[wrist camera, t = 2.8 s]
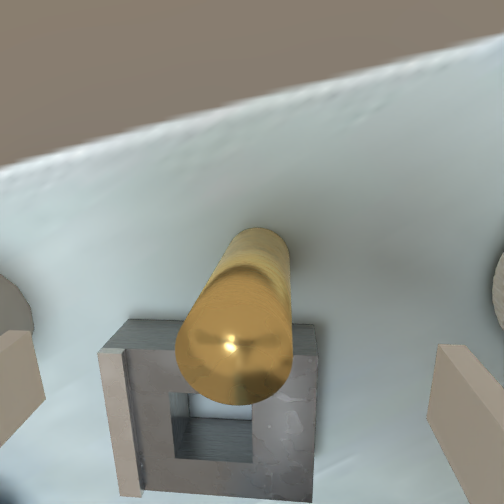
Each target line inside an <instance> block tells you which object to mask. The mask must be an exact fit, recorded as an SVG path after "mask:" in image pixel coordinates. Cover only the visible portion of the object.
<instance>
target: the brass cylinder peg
mask: <svg viewBox="0 0 504 504" xmlns="http://www.w3.org/2000/svg"><path fill="white" fill-rule="evenodd" d="M175 356H176V361H177V364H178V367H179V369H180V372H181V374H182V375H183V377H184V378H185V380H186V381H187V382H188V383H189V385H190V386H192V387H193V388H194V389H195V390H196V391H197V392H199V393H200V394H201V395H203V396H205V397H206V398H209V399H211V400H213V401H216V402H219V403H223V404H227V405H250V404H254V403H258V402H260V401H263V400H265V399H267V398H269V397H270V396H272V395H273V394H275V393H276V392H277V391H278V390H279V389H280V388H281V387H282V386H283V385H284V383H285V382H286V380H287V379H288V377H289V374H290V372H291V368H292V363H293V344H292V316H291V288H290V259H289V251H288V248H287V246H286V244H285V242H284V241H283V239H282V238H281V237H280V236H279V235H277V234H276V233H274V232H273V231H271V230H268V229H265V228H250V229H247V230H244V231H242V232H240V233H239V234H238V235H236V236H235V237H234V238H233V240H232V241H231V243H230V244H229V246H228V248H227V249H226V251H225V253H224V255H223V256H222V258H221V260H220V261H219V263H218V265H217V266H216V268H215V270H214V272H213V273H212V275H211V277H210V278H209V280H208V282H207V283H206V285H205V287H204V289H203V290H202V292H201V294H200V295H199V297H198V299H197V300H196V302H195V304H194V306H193V307H192V309H191V311H190V312H189V314H188V316H187V317H186V319H185V321H184V323H183V324H182V326H181V328H180V330H179V332H178V334H177V338H176V343H175Z"/></svg>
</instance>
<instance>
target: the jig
mask: <svg viewBox="0 0 504 504" xmlns="http://www.w3.org/2000/svg"><path fill="white" fill-rule="evenodd" d="M183 323H184V321H168V320H134V319H128V320H127V321H126V322H125V323H124V324H123V326H122V327H121V328H120V329H119V330H118V331H117V332H116V333H115V334H114V335H113V336H112V337H111V338H110V340H109V341H108V342H107V343H106V344H105V345H104V346H103V347H102V348H101V349H100V350H99V351H98V353H97V355H98V361H99V367H100V373H101V380H102V386H103V392H104V398H105V405H106V411H107V417H108V423H109V429H110V436H111V442H112V448H113V454H114V460H115V467H116V473H117V479H118V485H119V491H120V496H126V497H139V498H141V497H142V495H143V492H144V490H150V491H164V492H177V493H190V494H203V495H216V496H229V497H242V498H256V499H269V500H282V501H295V502H308V503H312V493H313V470H314V446H315V423H316V399H317V376H318V351H317V344H316V338H315V332H314V325H305V324H292V344H293V363H292V368H291V372H290V374H289V377H288V379H287V380H286V382H285V383H284V385H283V386H282V387H281V388H280V389H279V390H278V391H277V392H276V393H275V394H273V395H272V396H270V397H269V398H267V399H265V400H263V401H260V402H258V403H254V404H252V421H247V420H229V419H211V418H193V417H190V416H189V403H188V393H196V394H200V393H199V392H197V391H196V390H195V389H194V388H193V387H192V386H190V385H189V383H188V382H187V381H186V380H185V378H184V377H183V375H182V374H181V372H180V369H179V367H178V364H177V361H176V356H175V343H176V338H177V334H178V332H179V330H180V328H181V326H182V324H183Z"/></svg>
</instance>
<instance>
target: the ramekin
mask: <svg viewBox="0 0 504 504" xmlns="http://www.w3.org/2000/svg"><path fill="white" fill-rule="evenodd" d="M492 294H493V298H492V302H493V304H494V311H495V314H496V316H497V318H498V322H499V324H500V326H501V327H502V329H503V331H504V252H503V254H502V255H501V257H500V260H499V262H498V265H497V267H496V270H495V275H494V278H493V287H492Z"/></svg>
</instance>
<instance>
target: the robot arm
mask: <svg viewBox="0 0 504 504" xmlns="http://www.w3.org/2000/svg"><path fill="white" fill-rule="evenodd" d="M45 399H46V397H45V393H44V389H43V384H42V380H41V376H40V371H39V367H38V363H37V358H36V354H35V350H34V346H33V341H32V337H31V333H30V331H19V330H8V331H7V332H5V333H4V334H2V335H1V336H0V447H1V446H2V445H3V444H4V443H5V442H6V441H7V440H8V439H9V438H10V437H11V436H12V435H13V434H14V433H15V431H16V430H17V429H18V428H19V427H20V426H21V425H22V424H23V423H24V422H25V421H26V420H27V419H28V418H29V417H30V415H31V414H32V413H33V412H34V411H35V410H36V409H37V408H38V407H39V406H40V405H41V404H42V403H43V402H44V400H45ZM426 419H427V421H428V423H429V425H430V427H431V429H432V431H433V432H434V434H435V436H436V438H437V440H438V442H439V444H440V446H441V448H442V450H443V452H444V454H445V456H446V458H447V460H448V462H449V464H450V466H451V468H452V470H453V471H454V473H455V475H456V477H457V479H458V481H459V483H460V485H461V487H462V489H463V491H464V493H465V495H466V497H467V499H468V501H469V503H470V504H504V388H503V387H502V386H501V385H500V384H499V383H498V381H497V380H496V379H495V378H494V377H493V376H492V375H491V374H490V373H489V371H488V370H487V369H486V368H485V367H484V366H483V365H482V364H481V362H480V361H479V360H478V359H477V358H476V357H475V356H474V355H473V353H472V352H471V351H470V350H469V349H468V348H467V347H466V346H465V345H448V344H438V349H437V355H436V362H435V368H434V374H433V380H432V387H431V393H430V399H429V405H428V412H427V418H426Z"/></svg>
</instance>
